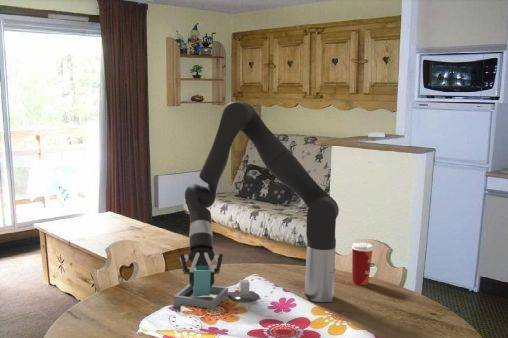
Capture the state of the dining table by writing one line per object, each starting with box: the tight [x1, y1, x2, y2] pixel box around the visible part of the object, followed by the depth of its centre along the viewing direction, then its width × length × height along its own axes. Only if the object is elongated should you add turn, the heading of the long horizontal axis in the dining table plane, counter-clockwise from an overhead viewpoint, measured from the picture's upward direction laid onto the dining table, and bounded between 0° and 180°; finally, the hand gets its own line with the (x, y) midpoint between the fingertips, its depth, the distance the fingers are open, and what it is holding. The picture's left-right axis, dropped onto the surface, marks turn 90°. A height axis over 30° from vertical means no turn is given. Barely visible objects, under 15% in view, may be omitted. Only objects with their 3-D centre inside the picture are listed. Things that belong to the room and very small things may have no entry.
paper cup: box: [351, 241, 374, 286], centre depth 181 cm, size 8×8×14 cm
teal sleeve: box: [192, 266, 211, 297], centre depth 157 cm, size 5×5×8 cm
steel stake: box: [227, 279, 261, 304], centre depth 160 cm, size 10×10×6 cm
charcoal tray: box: [173, 283, 229, 310], centre depth 158 cm, size 13×13×4 cm
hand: (202, 285), depth 156 cm, fingers closed on teal sleeve, 5 cm apart
